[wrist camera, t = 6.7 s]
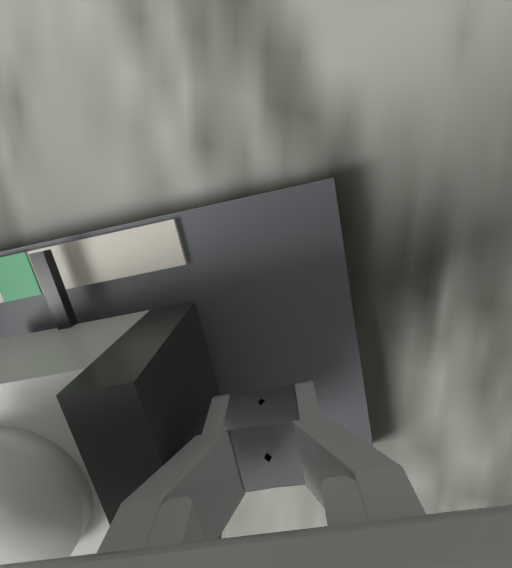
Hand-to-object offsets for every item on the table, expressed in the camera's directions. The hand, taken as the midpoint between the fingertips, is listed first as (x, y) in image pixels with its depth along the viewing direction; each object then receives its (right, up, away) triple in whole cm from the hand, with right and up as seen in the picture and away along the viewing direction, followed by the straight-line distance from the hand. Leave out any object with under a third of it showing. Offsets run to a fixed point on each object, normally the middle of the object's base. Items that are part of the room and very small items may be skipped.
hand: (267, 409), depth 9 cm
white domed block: (-8, 0, +3) cm, 9 cm away
